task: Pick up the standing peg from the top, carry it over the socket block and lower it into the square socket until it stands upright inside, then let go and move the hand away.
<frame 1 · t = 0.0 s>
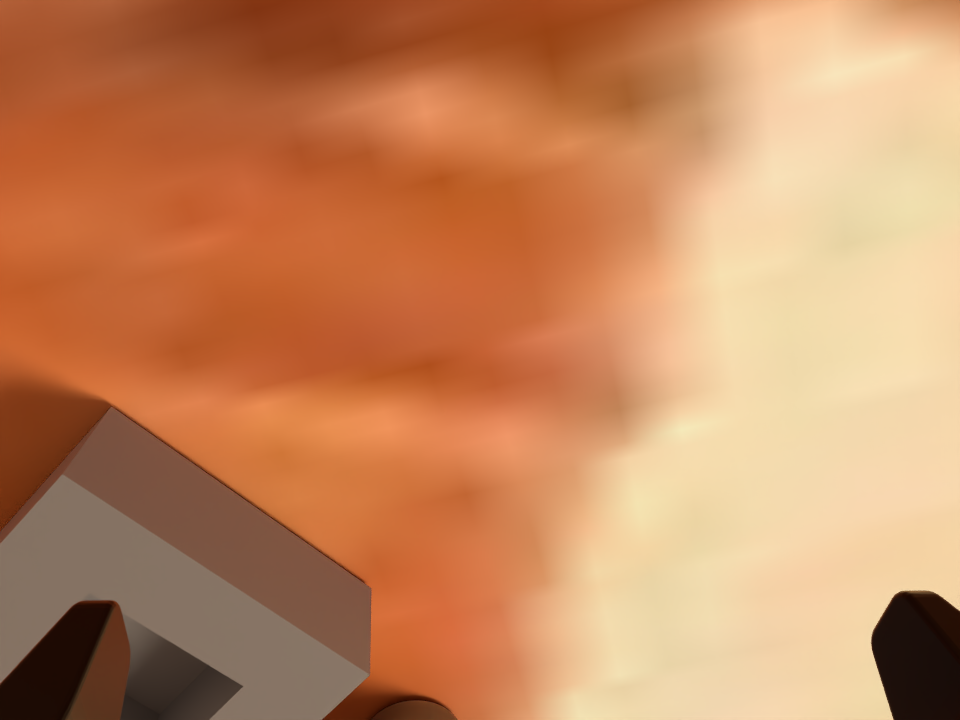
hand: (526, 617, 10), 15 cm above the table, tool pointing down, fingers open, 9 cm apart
socket block: (150, 605, 27), on the table
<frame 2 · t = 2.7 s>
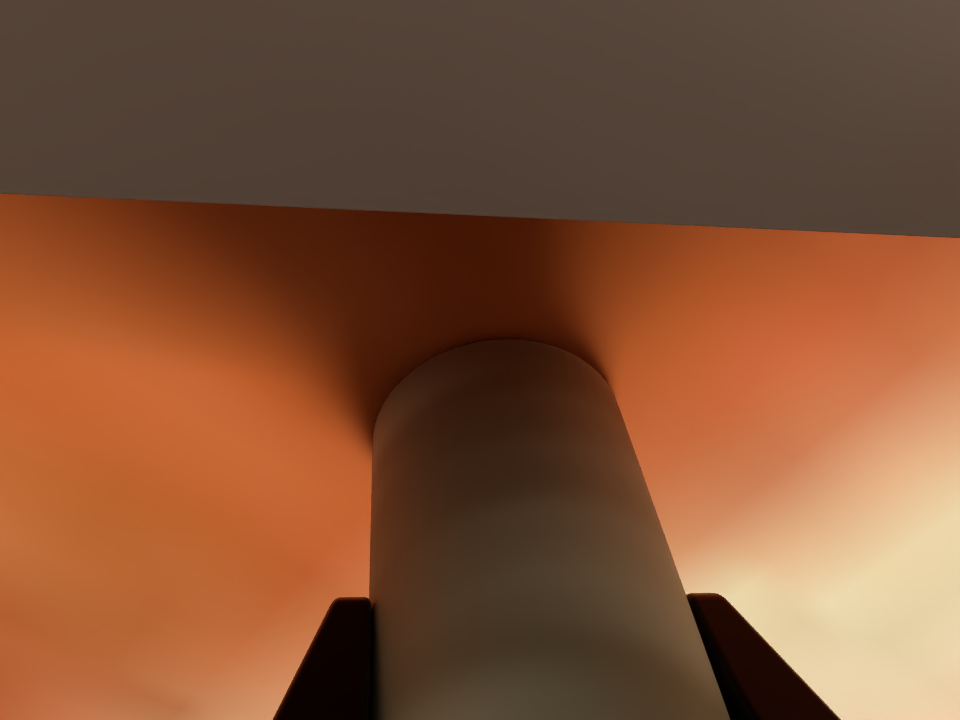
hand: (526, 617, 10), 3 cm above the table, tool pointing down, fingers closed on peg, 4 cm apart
peg: (498, 441, 12), on the table, touching gripper
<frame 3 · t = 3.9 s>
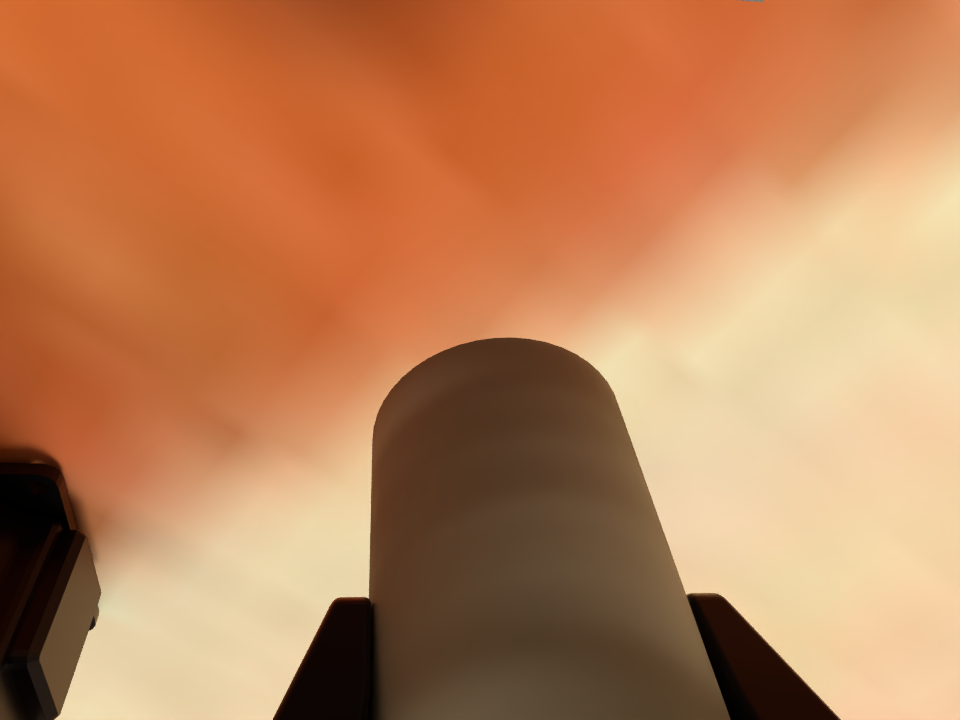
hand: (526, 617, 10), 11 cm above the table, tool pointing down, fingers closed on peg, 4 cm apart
peg: (497, 440, 12), point 8 cm above the table, touching gripper
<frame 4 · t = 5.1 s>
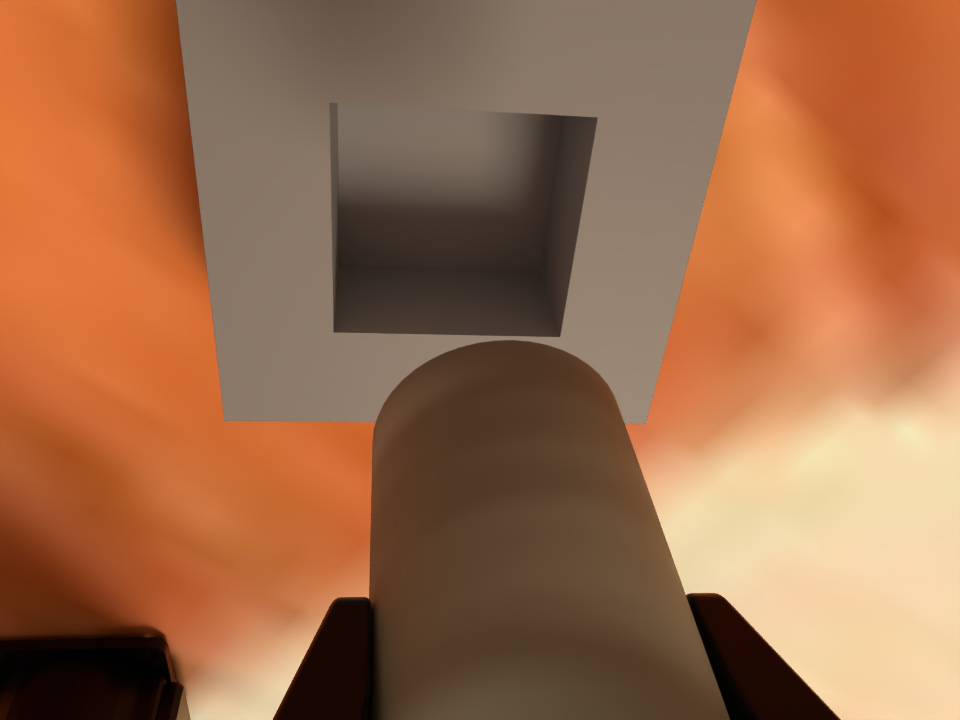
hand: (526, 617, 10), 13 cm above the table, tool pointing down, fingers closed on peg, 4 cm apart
socket block: (445, 156, 20), on the table
peg: (498, 442, 12), point 10 cm above the table, touching gripper
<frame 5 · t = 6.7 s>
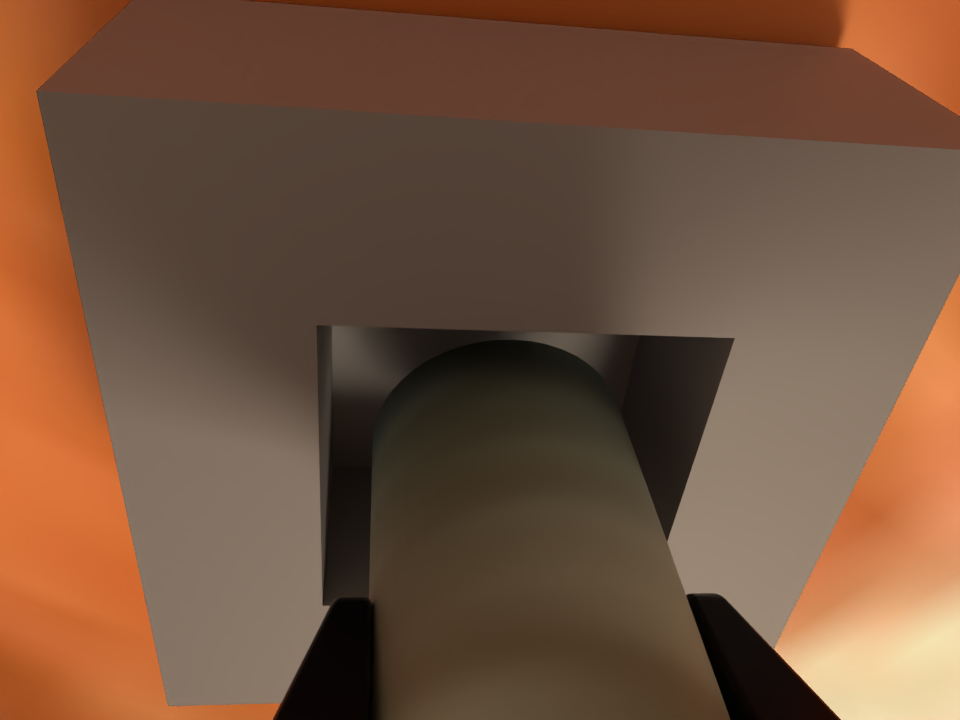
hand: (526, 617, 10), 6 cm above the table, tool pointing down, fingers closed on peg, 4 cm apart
socket block: (481, 322, 14), on the table
peg: (498, 442, 12), point 3 cm above the table, touching gripper
when the fingers open (5 cm above the table, at t = 7.9 s): peg drops 1 cm, resting on socket block.
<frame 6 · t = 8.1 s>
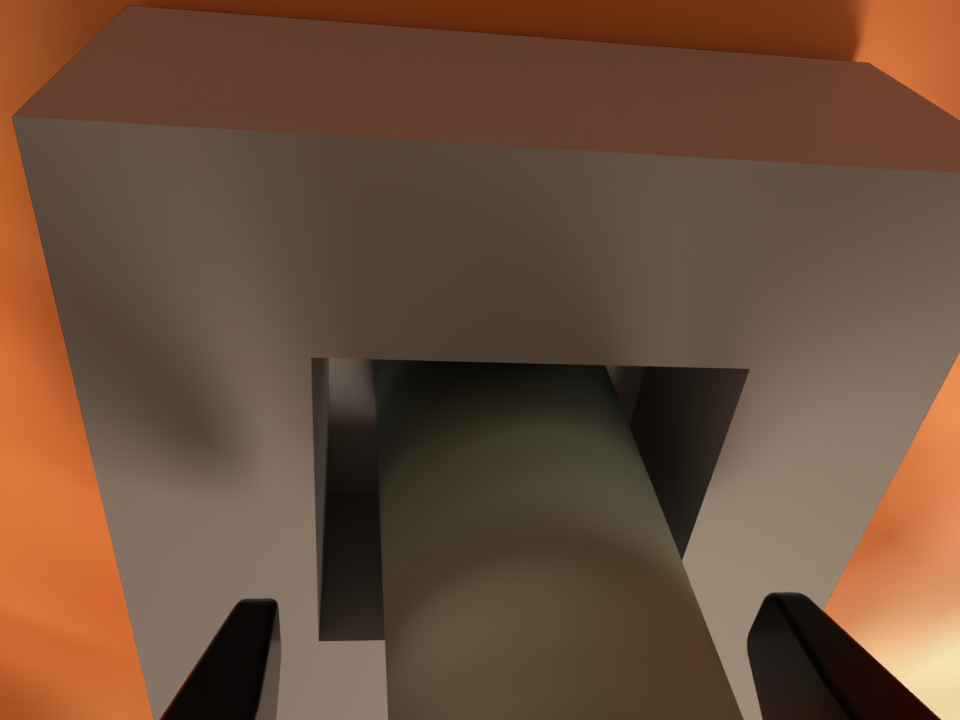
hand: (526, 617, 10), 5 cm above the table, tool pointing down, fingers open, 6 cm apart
socket block: (483, 343, 14), on the table
peg: (489, 384, 13), point 1 cm above the table, touching socket block
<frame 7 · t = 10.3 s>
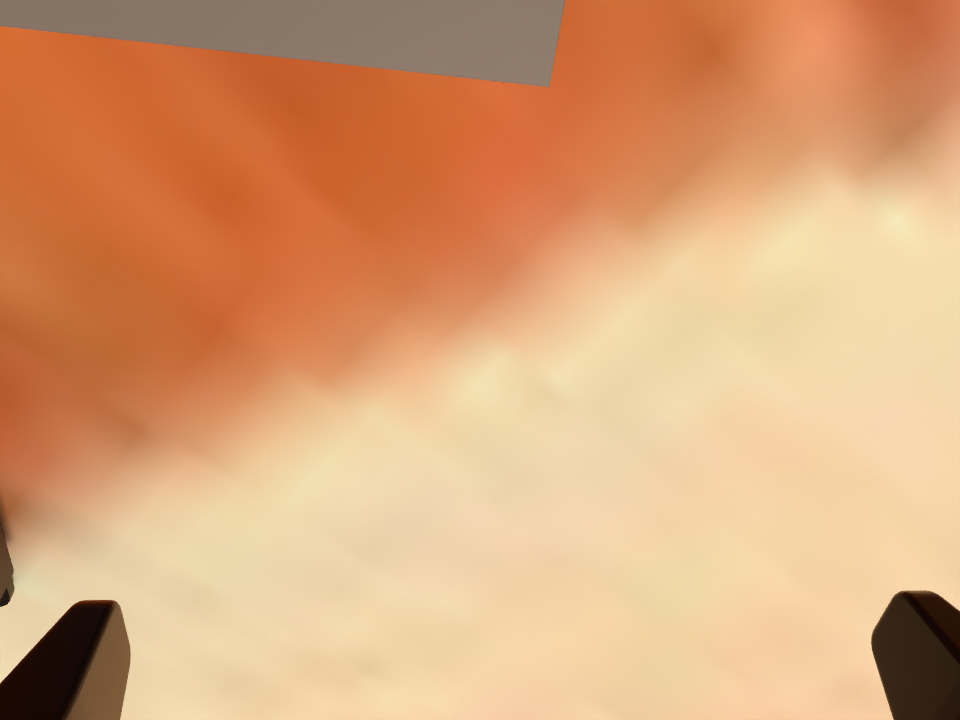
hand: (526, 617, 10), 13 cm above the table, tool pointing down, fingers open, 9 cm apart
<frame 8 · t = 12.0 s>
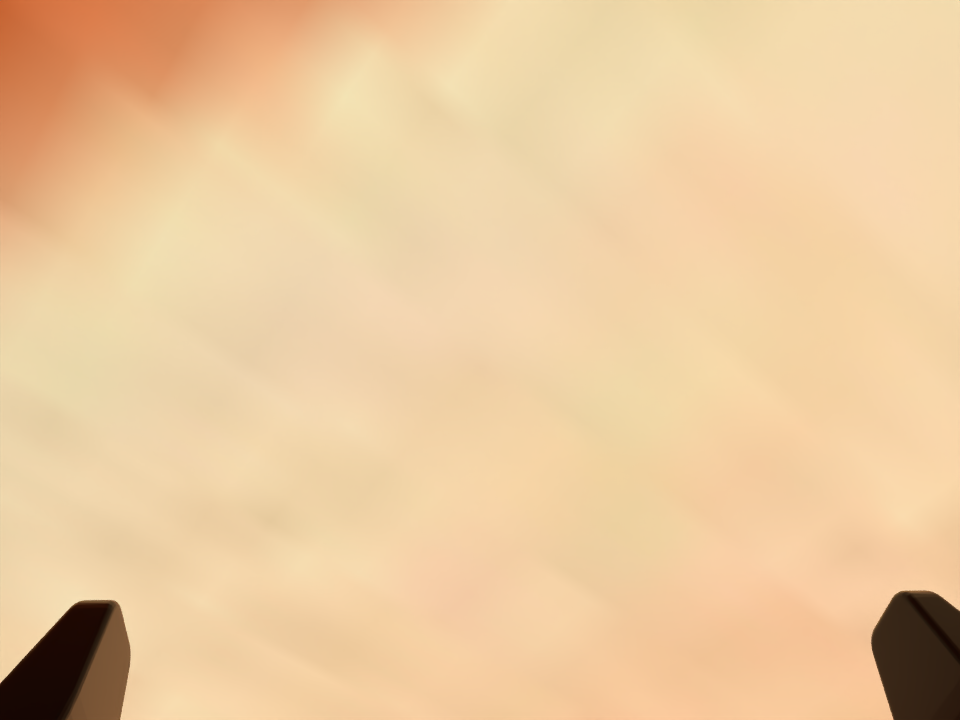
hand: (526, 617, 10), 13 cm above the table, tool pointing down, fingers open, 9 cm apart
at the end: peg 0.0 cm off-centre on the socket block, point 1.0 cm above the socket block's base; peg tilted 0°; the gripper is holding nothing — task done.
